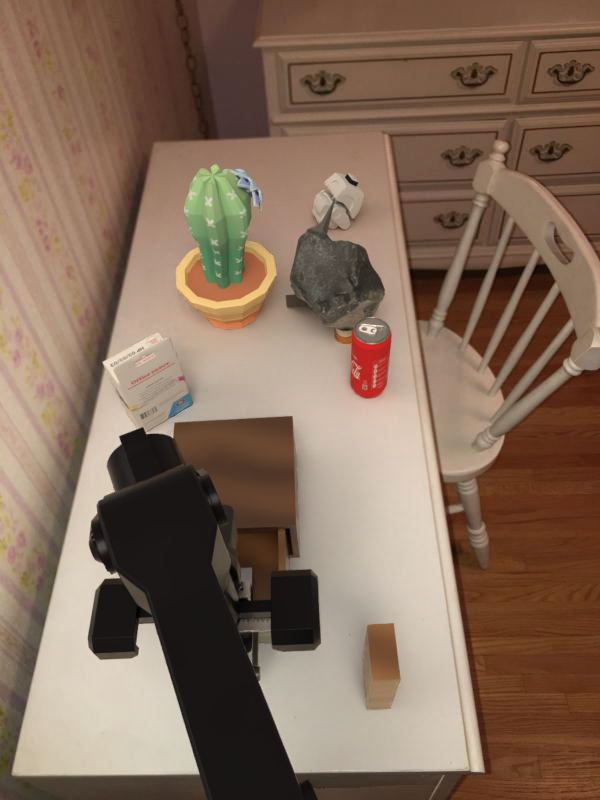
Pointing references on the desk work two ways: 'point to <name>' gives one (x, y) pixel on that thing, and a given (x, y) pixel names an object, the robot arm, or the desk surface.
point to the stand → (380, 666)
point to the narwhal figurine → (334, 280)
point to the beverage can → (370, 356)
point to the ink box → (149, 381)
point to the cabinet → (248, 469)
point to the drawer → (262, 570)
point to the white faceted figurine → (339, 200)
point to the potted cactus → (224, 250)
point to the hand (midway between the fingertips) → (222, 643)
